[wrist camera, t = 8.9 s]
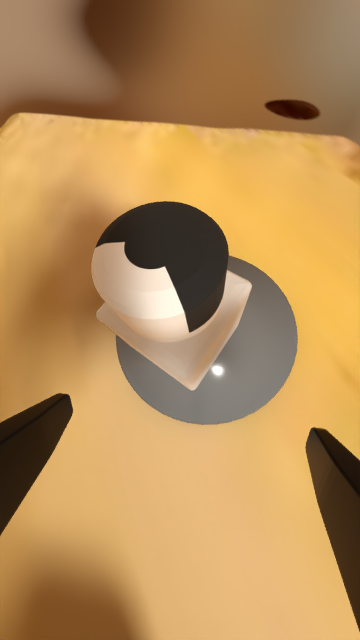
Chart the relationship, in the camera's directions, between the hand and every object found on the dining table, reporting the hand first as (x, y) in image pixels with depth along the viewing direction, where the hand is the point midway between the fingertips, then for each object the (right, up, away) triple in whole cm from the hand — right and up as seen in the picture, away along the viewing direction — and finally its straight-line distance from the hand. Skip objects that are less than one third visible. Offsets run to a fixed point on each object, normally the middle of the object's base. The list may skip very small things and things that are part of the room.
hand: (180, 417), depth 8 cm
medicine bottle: (0, +2, +12) cm, 12 cm away
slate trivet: (+2, +3, +13) cm, 14 cm away
